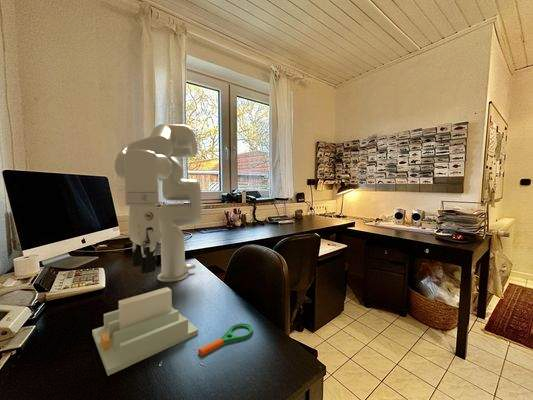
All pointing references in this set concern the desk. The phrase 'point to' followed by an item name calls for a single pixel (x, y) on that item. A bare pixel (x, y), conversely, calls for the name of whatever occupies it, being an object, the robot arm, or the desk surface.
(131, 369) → the desk surface
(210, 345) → the magnifying glass
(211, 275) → the desk surface
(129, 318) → the panel
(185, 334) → the rack
